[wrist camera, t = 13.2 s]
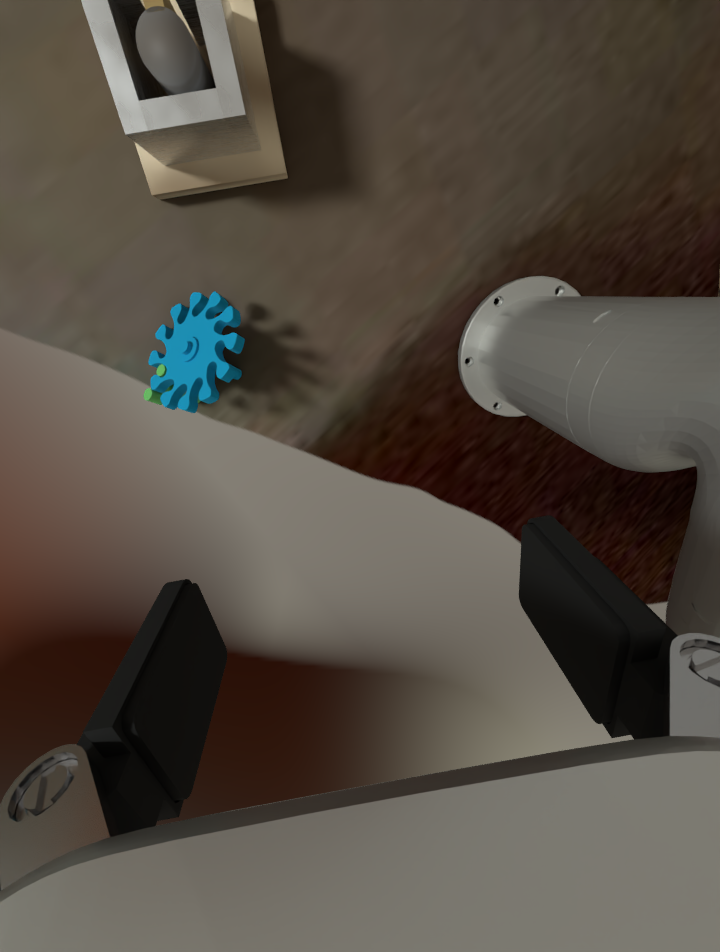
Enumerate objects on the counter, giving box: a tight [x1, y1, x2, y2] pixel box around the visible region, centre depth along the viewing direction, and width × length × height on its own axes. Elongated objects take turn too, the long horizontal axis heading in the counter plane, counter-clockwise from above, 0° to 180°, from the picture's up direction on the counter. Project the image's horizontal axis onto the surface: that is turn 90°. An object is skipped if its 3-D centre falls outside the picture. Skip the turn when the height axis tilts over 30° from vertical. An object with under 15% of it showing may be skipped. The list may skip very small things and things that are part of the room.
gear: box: [144, 291, 245, 413], centre depth 32 cm, size 11×6×10 cm
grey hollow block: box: [81, 0, 261, 166], centre depth 23 cm, size 7×7×6 cm
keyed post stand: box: [135, 0, 288, 200], centre depth 24 cm, size 10×10×7 cm
